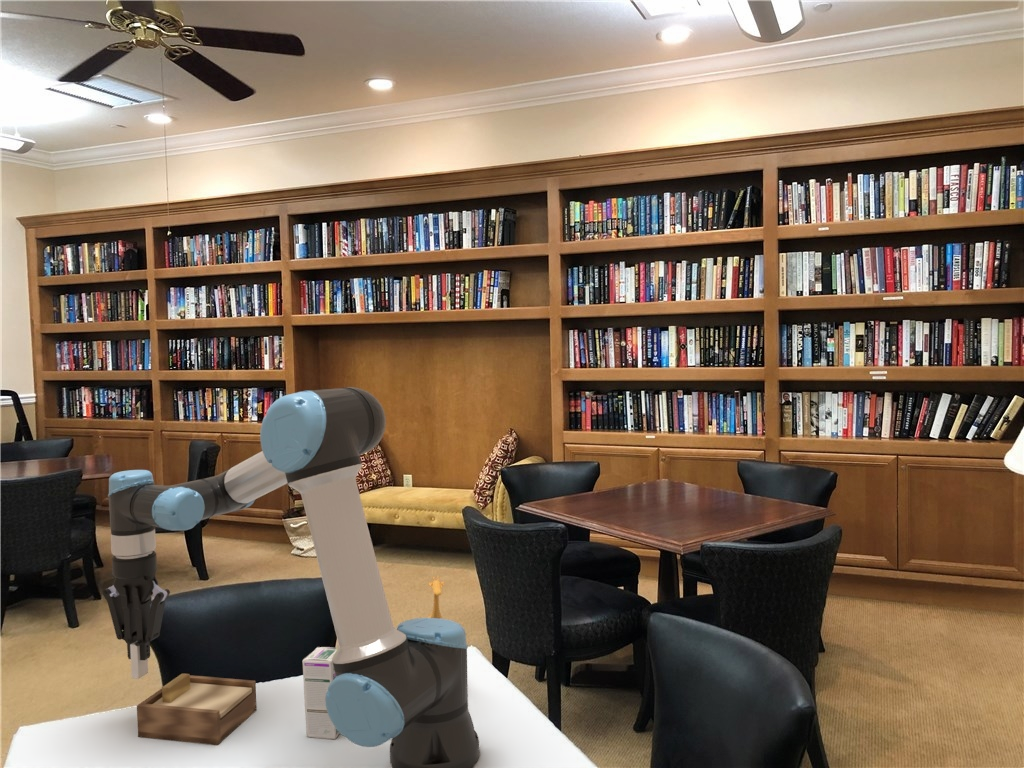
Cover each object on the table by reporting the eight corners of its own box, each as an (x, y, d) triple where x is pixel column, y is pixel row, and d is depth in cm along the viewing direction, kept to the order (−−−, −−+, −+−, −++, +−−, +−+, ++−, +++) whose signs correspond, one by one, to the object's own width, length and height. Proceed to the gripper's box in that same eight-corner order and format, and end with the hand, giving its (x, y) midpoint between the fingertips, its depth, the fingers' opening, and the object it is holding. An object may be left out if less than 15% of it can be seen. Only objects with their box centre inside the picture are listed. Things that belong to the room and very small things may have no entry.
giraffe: (452, 709, 149) (449, 581, 147) (429, 712, 148) (426, 583, 146) (444, 673, 165) (441, 557, 163) (423, 675, 164) (420, 558, 162)
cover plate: (148, 711, 141) (147, 692, 141) (183, 686, 152) (182, 668, 151) (220, 718, 138) (219, 698, 138) (252, 691, 148) (251, 673, 148)
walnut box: (138, 736, 141) (136, 705, 140) (183, 703, 153) (181, 674, 153) (217, 745, 137) (216, 713, 137) (256, 709, 150) (255, 680, 150)
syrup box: (335, 740, 138) (332, 660, 137) (304, 737, 139) (301, 658, 138) (348, 724, 144) (346, 647, 143) (319, 721, 145) (316, 645, 144)
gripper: (177, 549, 148) (182, 669, 150) (118, 546, 151) (123, 664, 152) (151, 560, 141) (157, 687, 142) (89, 557, 144) (95, 681, 145)
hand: (139, 675), depth 147 cm, fingers closed
